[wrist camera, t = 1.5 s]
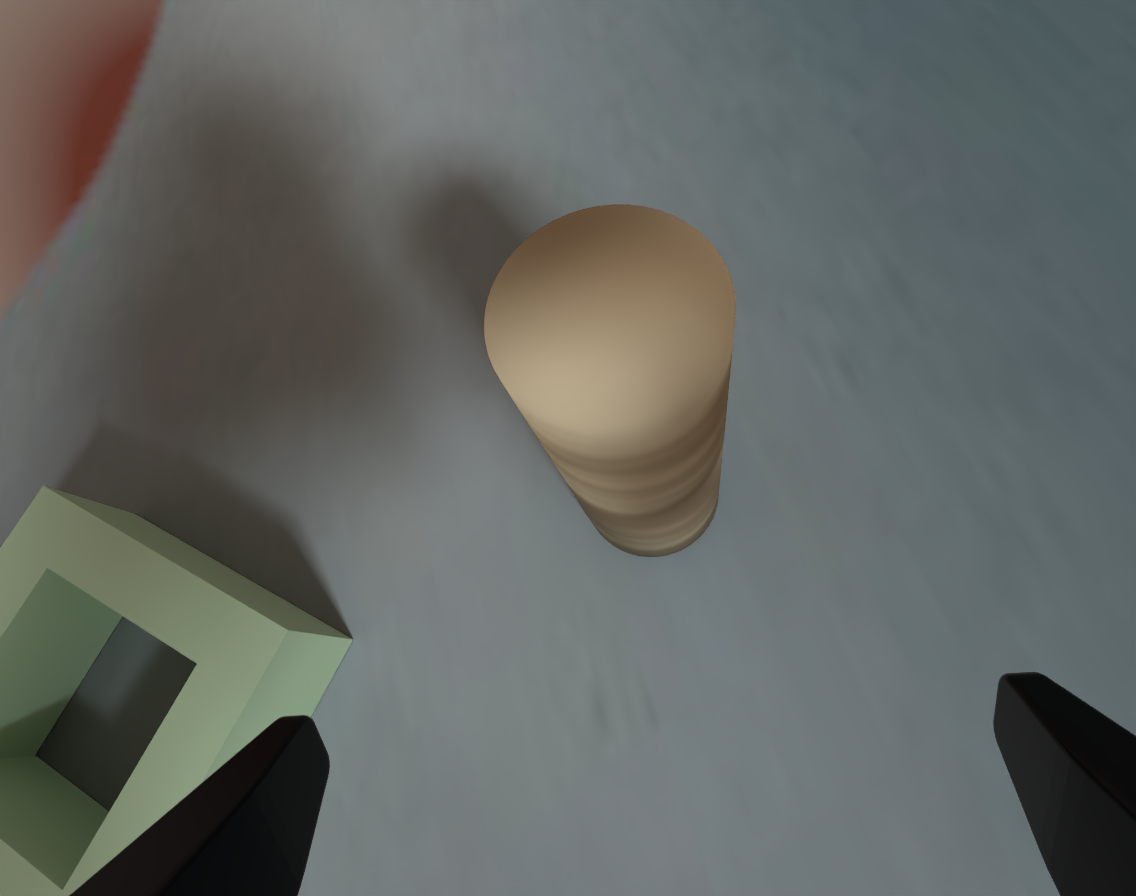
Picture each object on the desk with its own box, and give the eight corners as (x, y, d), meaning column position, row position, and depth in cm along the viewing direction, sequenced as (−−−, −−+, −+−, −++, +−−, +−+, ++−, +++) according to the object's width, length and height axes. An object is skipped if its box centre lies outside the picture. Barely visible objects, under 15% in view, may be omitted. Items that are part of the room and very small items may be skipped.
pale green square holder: (178, 958, 21) (68, 1015, 18) (-38, 782, 24) (-171, 798, 21) (353, 639, 24) (288, 630, 20) (134, 513, 27) (42, 485, 23)
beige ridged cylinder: (685, 579, 22) (671, 470, 11) (562, 523, 24) (440, 374, 12) (739, 458, 23) (776, 245, 12) (619, 410, 25) (552, 178, 13)
